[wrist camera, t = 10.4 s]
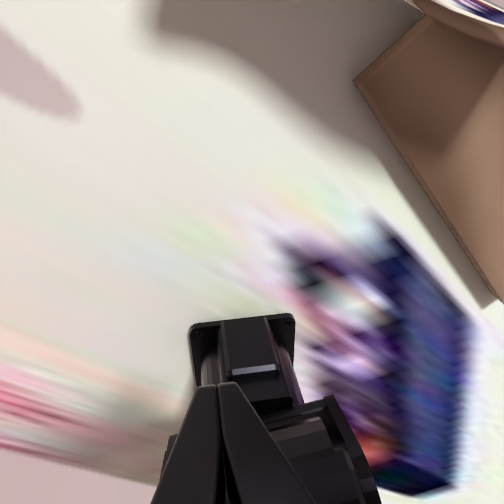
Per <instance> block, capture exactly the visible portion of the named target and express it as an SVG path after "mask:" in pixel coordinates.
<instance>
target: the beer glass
mask: <svg viewBox="0 0 504 504" xmlns="http://www.w3.org/2000/svg"><path fill="white" fill-rule="evenodd" d="M404 1H406V2H407V3H409V4H410V5H412V6H413V7H415V8H417V9H418V10H420V11H421V12H423V13H424V14H426V15H427V16H429V17H431V18H433V19H435V20H437V21H439V22H441V23H443V24H445V25H447V26H449V27H451V28H453V29H455V30H457V31H460V32H462V33H465V34H467V35H470V36H472V37H475V38H477V39H480V40H482V41H484V42H487V43H490V44H493V45H496V46H499V47H502V48H504V0H404Z"/></svg>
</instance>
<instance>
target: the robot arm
mask: <svg viewBox="0 0 504 504" xmlns="http://www.w3.org/2000/svg"><path fill="white" fill-rule="evenodd" d="M287 320H289V322H286V323H285V321H287ZM196 331H201V332H199V333H196ZM190 339H191V347H192V354H193V362H194V370H195V378H196V385H197V389H196V390H195V393H194V395H193V398H192V400H191V403H190V405H189V408H188V410H187V413H186V416H185V418H184V421H183V423H182V426H181V428H180V431H179V433H178V434H175V435H171V436H169V441H168V446H167V451H165V455H164V461H163V466H162V471H161V476H160V481H159V484H158V486H157V489H156V491H155V494H154V496H153V499H152V501H151V504H381V500H380V496H379V493H378V490H377V487H376V484H375V481H374V478H373V475H372V472H371V470H370V467H369V464H368V462H367V459H366V457H365V455H364V453H363V450H362V448H361V446H360V444H359V443H358V441H357V439H356V437H355V435H354V433H353V431H352V429H351V427H350V425H349V424H348V422H347V420H346V418H345V416H344V414H343V412H342V410H341V408H340V407H339V405H338V403H337V401H336V399H335V397H334V395H333V394H332V395H328V396H325V397H323V399H320V400H316V401H312V402H308V403H304V400H303V397H302V394H301V391H300V388H299V385H298V382H297V378H296V375H295V372H294V369H293V361H294V341H295V319H294V316H293V315H292V314H290V313H284V314H275V315H266V316H257V317H248V318H240V319H231V320H222V321H213V322H205V323H197V324H194V325H192V326H191V328H190Z"/></svg>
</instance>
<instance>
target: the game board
mask: <svg viewBox="0 0 504 504" xmlns="http://www.w3.org/2000/svg"><path fill="white" fill-rule="evenodd" d="M353 83H354V84H355V86H356V87H357V89H358V90H359V92H360V93H361V95H362V96H363V98H364V99H365V101H366V102H367V104H368V105H369V107H370V108H371V110H372V112H373V113H374V115H375V116H376V118H377V119H378V121H379V122H380V124H381V125H382V127H383V128H384V130H385V131H386V133H387V134H388V136H389V137H390V139H391V140H392V142H393V143H394V145H395V147H396V148H397V150H398V151H399V153H400V154H401V156H402V157H403V159H404V160H405V162H406V163H407V165H408V166H409V168H410V169H411V171H412V172H413V174H414V175H415V177H416V178H417V180H418V182H419V183H420V185H421V186H422V188H423V189H424V191H425V192H426V194H427V195H428V197H429V198H430V200H431V201H432V203H433V204H434V206H435V207H436V209H437V210H438V212H439V213H440V215H441V217H442V218H443V220H444V221H445V223H446V224H447V226H448V227H449V229H450V230H451V232H452V233H453V235H454V236H455V238H456V239H457V241H458V242H459V244H460V245H461V247H462V248H463V250H464V252H465V253H466V255H467V256H468V258H469V259H470V261H471V262H472V264H473V265H474V267H475V268H476V270H477V271H478V273H479V274H480V276H481V277H482V279H483V280H484V282H485V283H486V285H487V287H488V288H489V290H490V291H491V293H492V294H493V295H494V296H495V297H496V298H497V299H499V300H500V301H501V302H502V303H503V304H504V48H502V47H499V46H496V45H493V44H490V43H487V42H484V41H482V40H480V39H477V38H475V37H472V36H470V35H467V34H465V33H462V32H460V31H457V30H455V29H453V28H451V27H449V26H447V25H445V24H443V23H441V22H439V21H437V20H435V19H433V18H431V17H429V16H427V15H425V16H424V17H423V18H422V19H421V20H420V21H418V22H417V23H416V24H415V25H414V26H413V27H412V28H411V29H410V30H408V31H407V32H406V33H405V34H404V35H403V36H402V37H401V38H400V39H398V40H397V41H396V42H395V43H394V44H393V45H392V46H391V47H390V48H388V49H387V50H386V51H385V52H384V53H383V54H382V55H381V56H380V57H378V58H377V59H376V60H375V61H374V62H373V63H372V64H371V65H370V66H368V67H367V68H366V69H365V70H364V71H363V72H362V73H361V74H360V75H358V76H357V77H356V78H355V79H354V80H353Z"/></svg>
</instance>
